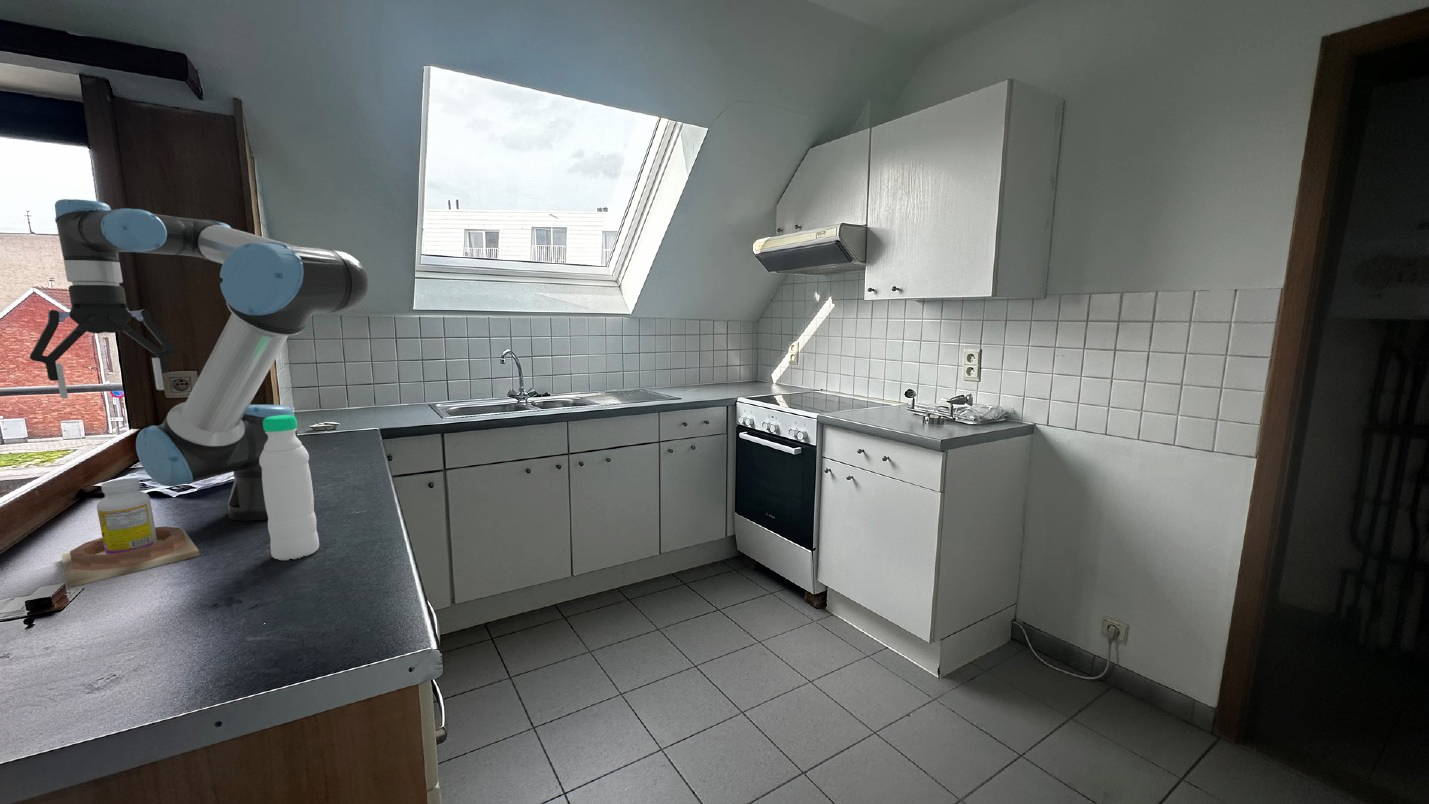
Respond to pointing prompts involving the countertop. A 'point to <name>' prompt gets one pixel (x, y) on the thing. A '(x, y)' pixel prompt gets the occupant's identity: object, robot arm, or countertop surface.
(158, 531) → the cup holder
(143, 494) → the supplement bottle
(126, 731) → the countertop surface
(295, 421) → the water bottle
